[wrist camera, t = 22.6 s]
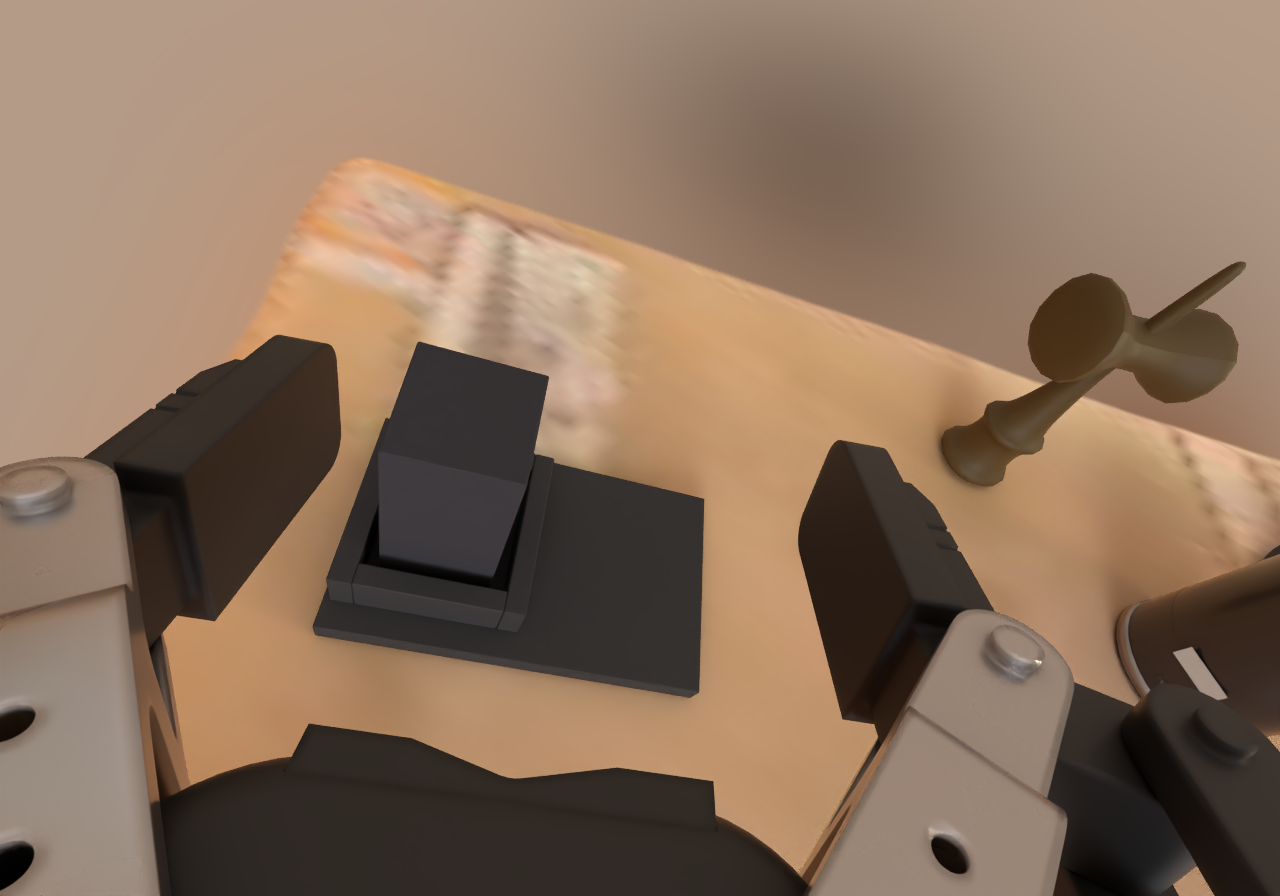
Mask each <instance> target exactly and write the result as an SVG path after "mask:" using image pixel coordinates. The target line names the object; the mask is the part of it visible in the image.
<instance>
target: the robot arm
mask: <svg viewBox="0 0 1280 896" xmlns="http://www.w3.org/2000/svg"><path fill="white" fill-rule="evenodd" d="M340 440H341V422H340V406H339V390H338V373H337V359H336V354H335V351H334V349H333V347H332V346H331V345H329V344H326V343H320V342H315V341H310V340H304V339H299V338H294V337H288V336H283V335H276V336H274V337H272V338H271V339H269V340H268V341H267V342H266V343H264V344H263V345H262V346H260V347H259V348H258V349H257V350H255V351H254V352H253V353H251V354H250V355H249V356H248V357H246V358H245V359H244V360H237V359H235V360H232V361H229V362H227V363H224V364H221V365H218V366H216V367H213V368H210V369H207V370H205V371H202V372H200V373H198V374H197V375H196V376H194V377H193V378H192V379H190V380H189V381H188V382H186V383H185V384H183V385H182V386H181V387H179V388H178V389H177V390H176V394H173V393H171V394H170V395H168V396H167V397H166V398H164V399H163V400H162V401H160V402H159V403H158V404H156V408H155V409H149V410H148V411H147V412H146V413H144V414H143V415H141V416H140V417H139V418H137V419H136V420H134V421H133V422H132V423H130V424H129V425H128V426H127V427H125V428H123V429H122V430H121V431H119V432H118V433H117V434H115V435H114V436H113V437H111V438H110V439H109V440H107V441H106V442H104V443H103V444H102V445H100V446H99V447H98V448H97V449H95V450H94V451H92V452H91V453H89V454H88V455H87V456H85V457H84V458H78V457H48V458H38V459H32V460H27V461H22V462H17V463H13V464H9V465H6V466H3V467H0V896H1179V895H1178V893H1177V892H1176V890H1175V888H1174V886H1173V884H1174V883H1175V882H1177V881H1178V880H1179V879H1181V878H1182V877H1183V876H1184V875H1186V874H1187V873H1188V872H1190V871H1191V870H1192V869H1194V868H1195V867H1196V866H1197V867H1198V868H1199V870H1200V872H1201V873H1202V875H1203V877H1204V878H1205V880H1206V882H1207V884H1208V885H1209V887H1210V889H1211V890H1212V892H1213V894H1214V895H1215V896H1280V752H1279V751H1278V749H1277V748H1276V747H1275V746H1274V745H1273V744H1272V743H1271V741H1270V740H1269V739H1268V738H1267V737H1268V736H1275V735H1280V546H1278V547H1276V548H1275V549H1273V550H1272V551H1271V552H1270V553H1269V554H1268V555H1267V556H1266V557H1265V558H1264V560H1262V561H1259V562H1256V563H1254V564H1251V565H1248V566H1245V567H1243V568H1240V569H1237V570H1234V571H1231V572H1229V573H1226V574H1223V575H1220V576H1217V577H1215V578H1212V579H1209V580H1206V581H1203V582H1201V583H1198V584H1195V585H1192V586H1189V587H1186V588H1183V589H1180V590H1178V591H1175V592H1172V593H1169V594H1166V595H1164V596H1161V597H1158V598H1155V599H1152V600H1145V601H1142V602H1139V603H1136V604H1134V605H1131V606H1129V607H1128V608H1126V609H1125V610H1124V611H1123V612H1122V614H1121V615H1120V618H1119V620H1118V624H1117V644H1118V649H1119V654H1120V657H1121V660H1122V663H1123V666H1124V668H1125V670H1126V673H1127V675H1128V677H1129V679H1130V681H1131V682H1132V684H1133V686H1134V688H1135V689H1136V691H1137V692H1138V694H1139V695H1140V697H1141V698H1142V700H1141V701H1140V702H1139V703H1138V704H1137V705H1136V706H1135V707H1134V706H1132V705H1129V704H1127V703H1124V702H1122V701H1119V700H1117V699H1114V698H1112V697H1109V696H1107V695H1105V694H1102V693H1100V692H1097V691H1095V690H1092V689H1090V688H1087V687H1085V686H1082V685H1080V684H1077V683H1075V682H1074V679H1073V676H1072V673H1071V671H1070V668H1069V667H1068V665H1067V663H1066V662H1065V660H1064V659H1063V657H1062V656H1061V655H1060V654H1059V652H1058V651H1057V650H1056V649H1055V648H1054V647H1053V646H1052V645H1051V644H1050V643H1049V642H1048V641H1047V640H1045V639H1044V638H1043V637H1042V636H1041V635H1039V634H1038V633H1037V632H1035V631H1034V630H1032V629H1031V628H1029V627H1028V626H1026V625H1024V624H1023V623H1021V622H1019V621H1017V620H1015V619H1013V618H1011V617H1008V616H1006V615H1003V614H1000V613H997V612H995V611H994V609H993V608H992V606H991V604H990V602H989V601H988V599H987V597H986V595H985V594H984V592H983V590H982V588H981V587H980V585H979V583H978V581H977V579H976V578H975V576H974V574H973V572H972V571H971V569H970V567H969V565H968V564H967V562H966V560H965V558H964V557H963V555H962V553H961V552H959V551H957V548H958V546H957V544H956V543H955V541H954V539H953V537H952V536H951V534H950V532H947V531H946V530H947V527H946V525H945V523H944V521H943V520H942V518H941V516H940V514H939V513H938V511H937V509H936V507H935V506H934V505H933V504H932V503H931V502H930V501H929V500H928V499H927V498H926V497H925V496H924V495H923V494H922V493H921V492H920V491H918V490H917V489H916V488H915V487H914V486H913V485H912V484H911V483H906V482H903V480H902V478H901V476H900V474H899V472H898V470H897V468H896V467H895V465H894V463H893V461H892V459H891V457H890V455H889V453H888V452H887V450H885V449H884V448H880V447H875V446H869V445H864V444H858V443H853V442H848V441H842V440H838V441H836V442H835V443H834V444H833V445H832V447H831V448H830V450H829V452H828V454H827V457H826V459H825V462H824V464H823V466H822V469H821V471H820V474H819V476H818V478H817V481H816V483H815V486H814V488H813V491H812V493H811V495H810V498H809V500H808V503H807V505H806V507H805V510H804V512H803V515H802V518H801V522H800V527H799V535H798V546H799V553H800V556H801V560H802V564H803V568H804V572H805V576H806V580H807V583H808V587H809V591H810V595H811V599H812V603H813V607H814V611H815V614H816V618H817V622H818V626H819V630H820V634H821V638H822V641H823V645H824V649H825V653H826V657H827V661H828V665H829V668H830V672H831V676H832V680H833V684H834V688H835V692H836V696H837V699H838V703H839V707H840V711H841V715H842V719H844V720H850V721H857V722H864V723H870V724H874V725H875V728H876V731H877V735H878V738H877V740H876V741H875V743H874V745H873V746H872V748H871V749H870V751H869V753H868V754H867V756H866V758H865V760H864V761H863V763H862V765H861V767H860V768H859V770H858V772H857V774H856V775H855V777H854V779H853V781H852V782H851V784H850V786H849V788H848V789H847V791H846V793H845V795H844V796H843V798H842V800H841V802H840V804H839V805H838V807H837V809H836V811H835V812H834V814H833V816H832V818H831V819H830V821H829V823H828V825H827V826H826V828H825V830H824V832H823V833H822V835H821V837H820V839H819V840H818V842H817V844H816V846H815V847H814V849H813V851H812V852H811V854H810V856H809V858H808V859H807V861H806V862H805V864H804V866H803V867H802V869H801V871H800V872H799V874H798V873H797V872H796V871H795V870H794V869H793V868H792V867H791V866H790V865H789V864H788V863H787V862H786V861H785V860H784V859H782V858H781V857H780V856H779V855H778V854H777V853H776V852H775V851H773V850H772V849H771V848H770V847H769V846H767V845H766V844H764V843H763V842H762V841H760V840H759V839H757V838H756V837H755V836H753V835H752V834H750V833H749V832H747V831H745V830H744V829H742V828H740V827H738V826H737V825H735V824H733V823H731V822H729V821H728V820H725V819H723V818H721V817H718V816H716V815H715V800H714V785H713V781H707V780H700V779H693V778H686V777H679V776H672V775H665V774H658V773H651V772H644V771H637V770H630V769H623V768H610V769H601V770H592V771H584V772H575V773H566V774H557V775H548V776H539V777H530V778H520V779H513V778H506V777H503V776H500V775H498V774H495V773H493V772H491V771H488V770H486V769H483V768H481V767H479V766H476V765H474V764H472V763H469V762H467V761H464V760H462V759H460V758H457V757H455V756H452V755H450V754H448V753H445V752H443V751H441V750H438V749H436V748H433V747H431V746H429V745H426V744H424V743H422V742H419V741H417V740H414V739H412V738H406V737H399V736H392V735H385V734H378V733H371V732H364V731H357V730H350V729H343V728H336V727H329V726H322V725H315V724H308V726H307V728H306V730H305V732H304V734H303V736H302V738H301V740H300V742H299V744H298V746H297V748H296V750H295V751H294V753H293V755H292V757H287V758H278V759H273V760H268V761H263V762H259V763H254V764H249V765H246V766H243V767H240V768H236V769H233V770H230V771H227V772H224V773H220V774H218V775H215V776H213V777H211V778H208V779H206V780H203V781H201V782H198V783H196V784H194V785H191V786H190V781H189V777H188V773H187V768H186V763H185V757H184V752H183V746H182V739H181V733H180V727H179V721H178V715H177V709H176V703H175V697H174V690H173V684H172V678H171V672H170V666H169V660H168V654H167V648H166V644H165V640H164V637H163V631H164V630H165V629H166V628H167V627H168V625H169V624H170V623H171V622H172V621H173V619H174V618H175V617H176V616H177V615H178V616H184V617H191V618H197V619H204V620H210V621H215V620H216V619H217V618H218V616H219V615H220V614H221V613H222V611H223V610H224V609H225V607H226V606H227V605H228V603H229V602H230V601H231V599H232V598H233V597H234V595H235V594H236V593H237V592H238V590H239V589H240V588H241V586H242V585H243V584H244V582H245V581H246V580H247V578H248V577H249V576H250V574H251V573H252V572H253V571H254V569H255V568H256V567H257V565H258V564H259V563H260V561H261V560H262V559H263V557H264V556H265V555H266V554H267V552H268V551H269V550H270V548H271V547H272V546H273V544H274V543H275V542H276V540H277V539H278V538H279V536H280V535H281V534H282V533H283V531H284V530H285V529H286V527H287V526H288V525H289V523H290V522H291V521H292V519H293V518H294V517H295V515H296V514H297V513H298V512H299V510H300V509H301V508H302V506H303V505H304V504H305V502H306V501H307V500H308V498H309V497H310V496H311V494H312V493H313V492H314V491H315V489H316V488H317V487H318V485H319V484H320V483H321V481H322V480H323V479H324V477H325V476H326V475H327V473H328V472H329V471H330V469H331V468H332V466H333V464H334V462H335V460H336V457H337V454H338V450H339V446H340Z"/></svg>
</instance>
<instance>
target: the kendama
mask: <svg viewBox="0 0 1280 896" xmlns="http://www.w3.org/2000/svg"><path fill="white" fill-rule="evenodd" d="M1245 267H1246V263H1245V262H1236V263H1234V264H1232V265H1230V266H1228V267H1226V268H1225V269H1223V270H1222V271H1220V272H1218V273H1217V274H1215V275H1214V276H1212V277H1210V278H1209V279H1207V280H1206V281H1204V282H1203V283H1201V284H1200V285H1198V286H1197V287H1195V288H1194V289H1192V290H1191V291H1190V292H1188V293H1187V294H1185V295H1184V296H1182V297H1181V298H1179V299H1178V300H1176V301H1175V302H1173V303H1172V304H1171V305H1169V306H1168V307H1166V308H1165V309H1164V310H1162V311H1160V312H1159V313H1158V314H1156V315H1155V316H1153V317H1152V318H1150V319H1147V318H1142V317H1138V316H1134V315H1132V312H1131V309H1130V306H1129V303H1128V300H1127V297H1126V294H1125V293H1124V292H1123V291H1122V289H1120V287H1119V286H1118V285H1117V284H1116V283H1115V282H1114V281H1113V280H1112V279H1111V278H1108V277H1104V276H1101V275H1097V274H1093V273H1090V274H1087V275H1083V276H1080V277H1076V278H1072V279H1071V280H1069V281H1068V282H1066V283H1065V284H1064V285H1062V286H1060V287H1059V288H1058V289H1056V290H1055V291H1054V292H1053V293H1052V294H1051V295H1050V296H1049V297H1048V298H1047V299H1046V301H1044V303H1043V304H1042V305H1041V306H1040V307H1039V309H1038V311H1037V313H1036V315H1035V317H1034V319H1033V320H1032V322H1031V325H1030V330H1029V338H1028V346H1029V351H1030V355H1031V359H1032V362H1033V363H1034V364H1035V366H1036V367H1037V369H1038V370H1039V372H1040V373H1041V374H1042V375H1044V376H1046V377H1048V378H1050V379H1052V380H1053V381H1051V382H1049V383H1047V384H1045V385H1043V386H1042V387H1040V388H1038V389H1036V390H1034V391H1032V392H1030V393H1028V394H1026V395H1024V396H1022V397H1019V398H1017V399H1014V400H1011V401H994V402H992V403H989V404H988V405H987V406H986V409H985V413H984V415H983V417H982V418H980V419H979V420H978V421H976V422H975V423H973V424H971V425H968V426H954V427H952V428H950V429H948V430H946V431H945V432H944V435H943V438H942V446H943V453H944V455H945V457H946V460H947V462H948V464H949V465H950V466H951V467H952V469H953V470H954V471H955V472H956V473H957V474H958V475H959V476H961V477H962V478H963V479H965V480H966V481H968V482H971V483H974V484H977V485H980V486H993V485H995V484H997V483H999V482H1000V481H1002V480H1003V478H1004V474H1005V470H1006V465H1007V464H1008V463H1009V462H1010V461H1012V460H1013V459H1014V458H1016V457H1017V456H1019V455H1022V454H1030V455H1031V454H1034V453H1036V452H1038V451H1040V450H1041V449H1042V447H1043V443H1044V437H1043V436H1044V434H1045V433H1046V431H1047V430H1048V429H1049V428H1050V427H1051V426H1052V424H1053V423H1054V422H1055V421H1056V420H1057V419H1058V418H1059V417H1060V416H1061V415H1062V414H1063V413H1065V412H1066V411H1067V410H1068V409H1069V408H1070V407H1071V406H1072V405H1073V404H1074V403H1075V402H1076V401H1077V400H1078V399H1080V398H1081V397H1082V396H1083V395H1084V394H1085V393H1086V392H1087V391H1089V390H1090V389H1091V388H1092V387H1093V386H1094V385H1096V384H1097V383H1098V382H1099V381H1100V380H1102V379H1103V378H1104V377H1105V376H1106V375H1108V374H1109V373H1110V372H1111V371H1113V370H1114V369H1115V368H1118V369H1123V370H1127V371H1130V372H1133V373H1134V375H1135V378H1136V380H1137V381H1138V383H1139V384H1140V385H1141V386H1142V387H1143V389H1144V390H1145V391H1146V392H1147V394H1149V395H1150V396H1151V397H1153V398H1155V399H1158V400H1160V401H1162V402H1164V403H1177V402H1188V401H1191V400H1193V399H1195V398H1198V397H1200V396H1203V395H1205V394H1207V393H1209V392H1210V391H1211V390H1213V389H1214V388H1215V387H1216V386H1218V385H1219V384H1220V383H1222V382H1223V381H1224V380H1225V379H1226V377H1227V376H1228V374H1229V373H1230V372H1231V370H1232V368H1233V367H1234V366H1235V364H1236V362H1237V352H1238V342H1237V340H1236V337H1235V334H1234V332H1233V329H1232V327H1231V326H1229V325H1228V324H1227V323H1226V322H1225V321H1224V320H1223V319H1222V318H1221V317H1220V316H1219V315H1217V314H1215V313H1211V312H1208V311H1205V310H1201V309H1195V308H1197V307H1198V306H1199V305H1201V304H1202V303H1204V301H1206V300H1208V299H1209V298H1210V297H1211V296H1213V295H1214V294H1216V293H1217V292H1218V291H1220V290H1221V289H1222V288H1223V287H1225V286H1226V285H1227V284H1229V283H1230V282H1231V281H1232V280H1234V279H1235V278H1236V277H1237V276H1238V275H1239V274H1240V273H1242V271H1243V270H1244V269H1245Z"/></svg>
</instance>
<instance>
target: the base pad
mask: <svg viewBox="0 0 1280 896" xmlns="http://www.w3.org/2000/svg"><path fill="white" fill-rule="evenodd" d="M389 420H390V419H388V418H386V419H385V422H384V424H383V427H382V430H381V432H380V435H379V438H378V440H377V443H376V446H375V449H374V451H373V454H372V457H371V459H370V462H369V465H368V467H367V470H366V473H365V476H364V478H363V481H362V484H361V486H360V489H359V492H358V494H357V497H356V500H355V503H354V505H353V508H352V511H351V513H350V516H349V519H348V521H347V524H346V527H345V530H344V532H343V535H342V538H341V540H340V543H339V546H338V549H337V551H336V554H335V557H334V559H333V562H332V565H331V567H330V570H329V573H328V576H327V578H326V581H327V589H326V592H325V594H324V597H323V600H322V602H321V605H320V608H319V611H318V613H317V616H316V619H315V621H314V624H313V629H314V633H315V635H318V636H324V637H330V638H336V639H342V640H348V641H354V642H360V643H366V644H372V645H378V646H384V647H390V648H396V649H402V650H408V651H414V652H420V653H426V654H432V655H438V656H444V657H450V658H456V659H462V660H468V661H474V662H480V663H486V664H492V665H498V666H504V667H510V668H516V669H522V670H528V671H534V672H540V673H546V674H552V675H558V676H564V677H570V678H576V679H582V680H588V681H594V682H600V683H606V684H612V685H618V686H624V687H630V688H636V689H642V690H648V691H654V692H660V693H666V694H672V695H678V696H684V697H692V696H694V695H695V694H697V693H699V678H700V640H701V601H702V563H703V524H704V499H703V498H698V497H694V496H690V495H686V494H682V493H677V492H673V491H669V490H665V489H661V488H656V487H652V486H648V485H644V484H640V483H635V482H631V481H627V480H623V479H619V478H614V477H610V476H606V475H602V474H598V473H593V472H589V471H585V470H581V469H577V468H572V467H568V466H564V465H560V464H556V463H554V459H553V458H550V457H545V456H541V455H535V454H533V459H532V464H531V469H530V474H529V479H528V484H527V487H526V490H525V493H524V495H523V498H522V501H521V503H520V506H519V509H518V512H517V514H516V517H515V520H514V522H513V525H512V528H511V530H510V533H509V536H508V539H507V541H506V544H505V547H504V549H503V552H502V555H501V558H500V560H499V563H498V566H497V568H496V571H495V574H494V576H493V579H492V582H491V585H490V587H489V588H487V587H481V586H476V585H471V584H466V583H461V582H455V581H450V580H445V579H440V578H435V577H429V576H424V575H419V574H414V573H409V572H403V571H398V570H393V569H388V568H382V567H379V494H378V450H379V447H380V444H381V442H382V439H383V436H384V433H385V431H386V428H387V425H388V422H389Z"/></svg>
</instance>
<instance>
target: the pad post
mask: <svg viewBox="0 0 1280 896" xmlns="http://www.w3.org/2000/svg"><path fill="white" fill-rule="evenodd" d="M548 380H549V376H546V375H542V374H539V373H535V372H531V371H527V370H523V369H520V368H516V367H512V366H508V365H505V364H501V363H497V362H493V361H490V360H486V359H482V358H478V357H475V356H471V355H467V354H463V353H460V352H456V351H452V350H448V349H445V348H441V347H437V346H433V345H429V344H426V343H422V342H418V343H417V346H416V348H415V351H414V354H413V357H412V359H411V362H410V365H409V368H408V370H407V373H406V376H405V378H404V381H403V384H402V387H401V389H400V392H399V395H398V398H397V400H396V403H395V406H394V409H393V411H392V414H391V417H390V420H389V422H388V425H387V428H386V431H385V433H384V436H383V439H382V442H381V444H380V447H379V450H378V494H379V567H382V568H388V569H393V570H398V571H403V572H409V573H414V574H419V575H424V576H429V577H435V578H440V579H445V580H450V581H455V582H461V583H466V584H471V585H476V586H481V587H487V588H489V587H490V585H491V582H492V579H493V576H494V574H495V571H496V568H497V566H498V563H499V560H500V558H501V555H502V552H503V549H504V547H505V544H506V541H507V539H508V536H509V533H510V530H511V528H512V525H513V522H514V520H515V517H516V514H517V512H518V509H519V506H520V503H521V501H522V498H523V495H524V493H525V490H526V487H527V484H528V479H529V474H530V469H531V464H532V459H533V454H534V449H535V444H536V439H537V434H538V430H539V425H540V420H541V415H542V410H543V405H544V400H545V395H546V390H547V385H548Z"/></svg>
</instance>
